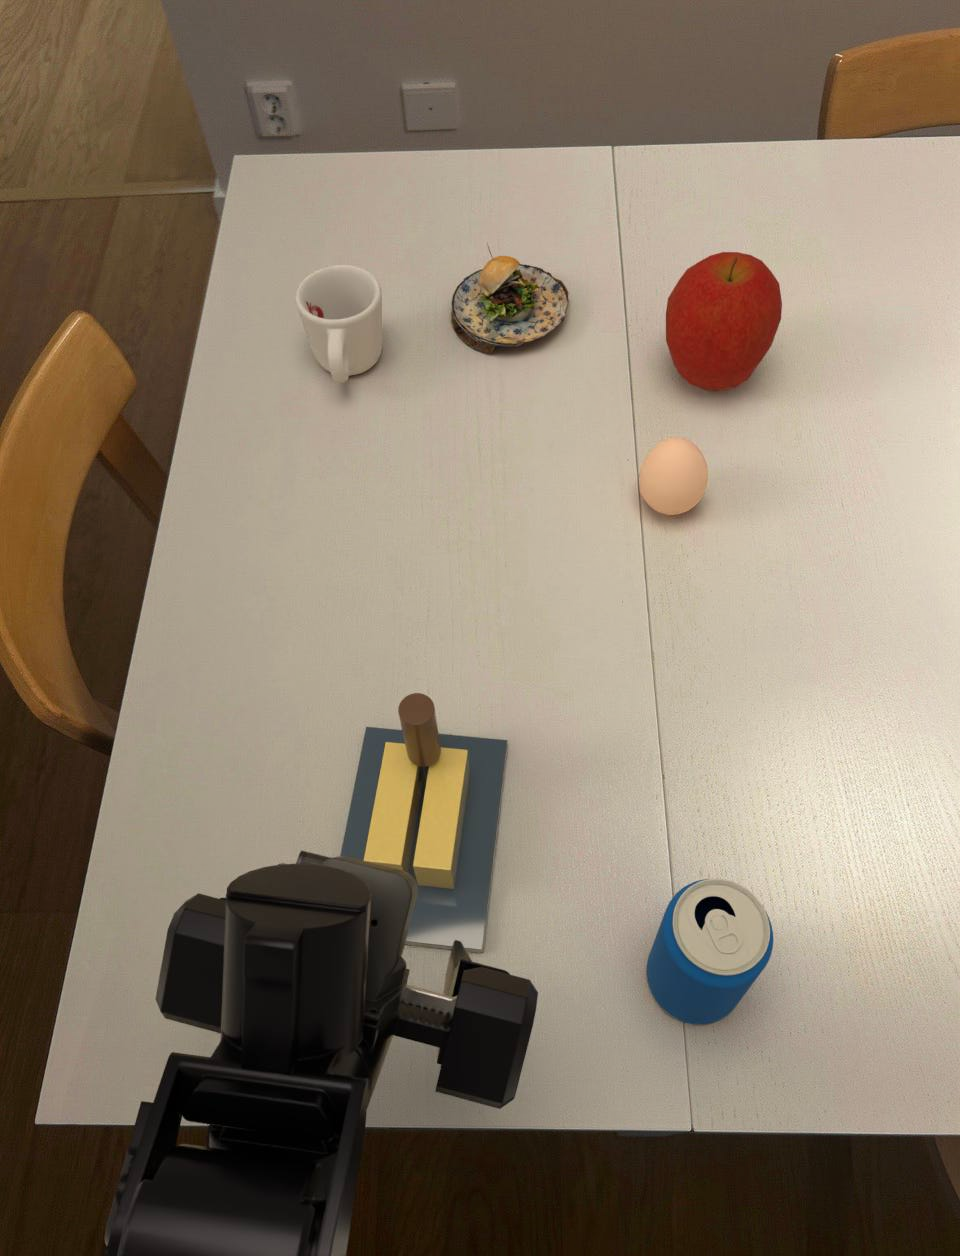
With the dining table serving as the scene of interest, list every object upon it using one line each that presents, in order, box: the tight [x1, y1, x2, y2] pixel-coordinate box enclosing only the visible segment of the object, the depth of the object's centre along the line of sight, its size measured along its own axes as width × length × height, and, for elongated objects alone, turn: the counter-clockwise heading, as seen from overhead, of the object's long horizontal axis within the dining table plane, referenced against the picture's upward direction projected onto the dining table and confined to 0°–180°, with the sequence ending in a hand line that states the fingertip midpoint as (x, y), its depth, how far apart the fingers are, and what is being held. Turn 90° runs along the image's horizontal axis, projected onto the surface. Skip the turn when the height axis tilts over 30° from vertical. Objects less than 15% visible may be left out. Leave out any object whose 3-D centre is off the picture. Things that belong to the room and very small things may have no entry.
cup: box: [295, 264, 383, 383], centre depth 100 cm, size 11×8×8 cm
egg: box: [638, 436, 709, 516], centre depth 90 cm, size 6×6×8 cm
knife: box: [397, 692, 441, 782], centre depth 75 cm, size 5×2×11 cm, turn 173°
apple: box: [665, 251, 783, 392], centre depth 96 cm, size 10×10×14 cm
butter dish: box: [339, 726, 509, 954], centre depth 76 cm, size 16×11×5 cm
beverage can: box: [646, 878, 774, 1025], centre depth 67 cm, size 6×6×12 cm
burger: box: [450, 243, 570, 355], centre depth 104 cm, size 12×12×8 cm
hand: (379, 928), depth 62 cm, fingers open, 9 cm apart
